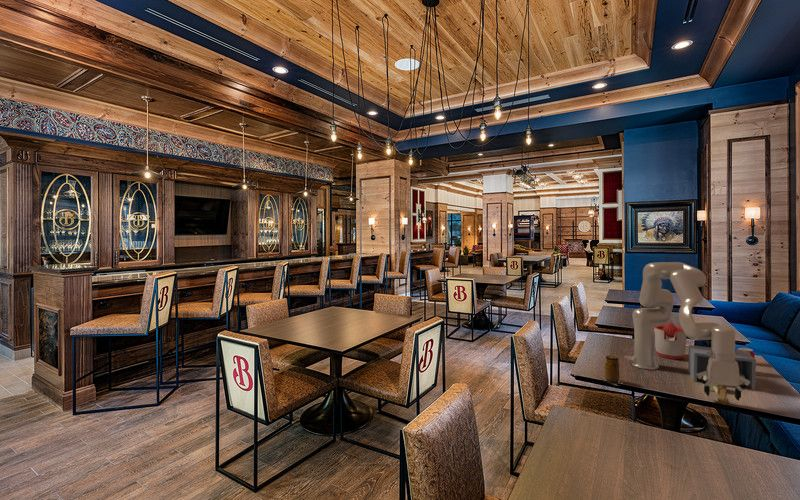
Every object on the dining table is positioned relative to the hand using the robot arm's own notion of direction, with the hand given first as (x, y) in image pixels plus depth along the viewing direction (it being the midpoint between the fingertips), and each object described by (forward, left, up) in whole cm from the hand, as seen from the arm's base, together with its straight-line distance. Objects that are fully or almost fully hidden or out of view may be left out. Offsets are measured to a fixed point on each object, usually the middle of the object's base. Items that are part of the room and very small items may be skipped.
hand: (722, 396), depth 157 cm
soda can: (+19, +50, -3) cm, 54 cm away
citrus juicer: (-11, +62, -3) cm, 63 cm away
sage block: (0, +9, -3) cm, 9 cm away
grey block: (+10, +29, -3) cm, 31 cm away
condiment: (-40, +6, -3) cm, 40 cm away
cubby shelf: (+5, +30, -3) cm, 31 cm away
